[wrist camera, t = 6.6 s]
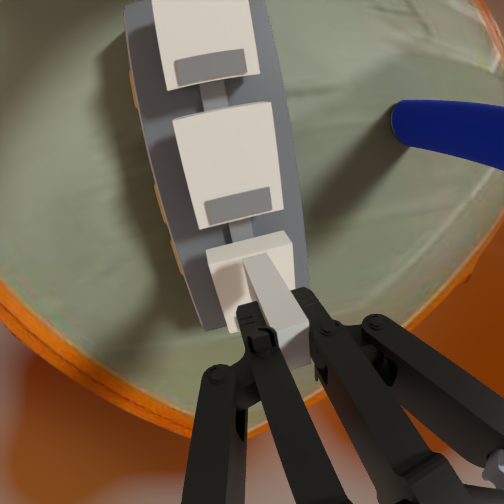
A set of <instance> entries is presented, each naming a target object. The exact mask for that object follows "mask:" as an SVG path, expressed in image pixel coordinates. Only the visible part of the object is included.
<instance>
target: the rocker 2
mask: <svg viewBox="0 0 504 504" xmlns="http://www.w3.org/2000/svg"><path fill="white" fill-rule="evenodd" d="M172 122H173V126H174V131H175V135H176V140H177V144H178V148H179V152H180V157H181V161H182V165H183V169H184V173H185V177H186V181H187V185H188V189H189V193H190V197H191V200H192V204H193V208H194V212H195V215H196V219H197V223H198V226H199V230H200V229H204V228H208V227H212V226H216V225H220V224H224V223H228V222H232V221H236V220H240V219H244V218H248V217H253V216H257V215H261V214H265V213H269V212H274V211H278V210H282V209H284V207H283V197H282V188H281V178H280V169H279V161H278V152H277V144H276V136H275V128H274V120H273V113H272V105H271V102H264V101H262V102H254V103H248V104H241V105H235V106H230V107H224V108H219V109H214V110H209V111H204V112H200V113H195V114H191V115H187V116H183V117H179V118H175V119H173V121H172Z"/></svg>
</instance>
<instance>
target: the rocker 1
mask: <svg viewBox="0 0 504 504" xmlns="http://www.w3.org/2000/svg"><path fill="white" fill-rule="evenodd" d="M151 1H152V8H153V14H154V21H155V27H156V33H157V39H158V45H159V50H160V56H161V61H162V66H163V72H164V77H165V82H166V87H167V91H170V90H174V89H178V88H182V87H187V86H191V85H196V84H200V83H205V82H210V81H216V80H222V79H228V78H234V77H241V76H249V75H256V74H260V69H259V62H258V56H257V49H256V43H255V37H254V31H253V25H252V19H251V13H250V7H249V1H248V0H151Z"/></svg>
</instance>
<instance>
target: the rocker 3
mask: <svg viewBox="0 0 504 504" xmlns="http://www.w3.org/2000/svg"><path fill="white" fill-rule="evenodd" d="M265 252H266V253H267V254H268V256H269V257H270V259H271V261H272V262H273V264H274V265H275V267H276V269H277V270H278V272H279V273H280V275H281V277H282V278H283V280H284V281H285V283H286V285H287V286H288V288H289V290H294V289H295V274H294V258H293V244H292V242H291V240H290V239H289V237H288V236H287V235H286V233H285V232H284V230H282V231H278V232H274V233H270V234H266V235H262V236H258V237H254V238H250V239H246V240H242V241H239V242H235V243H231V244H227V245H223V246H219V247H215V248H211V249H207V250H206V255H207V261H208V266H209V269H210V272H211V276H212V279H213V282H214V285H215V289H216V292H217V295H218V298H219V301H220V305H221V308H222V311H223V314H224V317H225V320H226V323H227V326H228V329H229V332H230V333H234V332H238V331H240V327H239V324H238V320H237V317H236V310H237V307H238V306H239V305H243V304H246V303H250V302H252V300H251V297H250V294H249V289H248V285H247V280H246V276H245V271H244V267H243V262H242V258H246V257H250V256H254V255H258V254H262V253H265Z"/></svg>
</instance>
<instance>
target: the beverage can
mask: <svg viewBox="0 0 504 504" xmlns="http://www.w3.org/2000/svg"><path fill="white" fill-rule="evenodd" d="M391 125H392V129H393V132H394V134H395V135H396V137H397V138H398V140H399V141H400V142H401V143H403V144H404V145H406V146H411V147H416V148H421V149H426V150H431V151H435V152H440V153H444V154H448V155H452V156H456V157H460V158H464V159H467V160H471V161H474V162H478V163H481V164H484V165H488V166H491V167H494V168H497V169H500V170H503V171H504V107H502V106H496V105H489V104H480V103H471V102H459V101H442V100H402V101H400V102H398V103H397V104H396V106H395V107H394V109H393V111H392V114H391Z"/></svg>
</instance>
